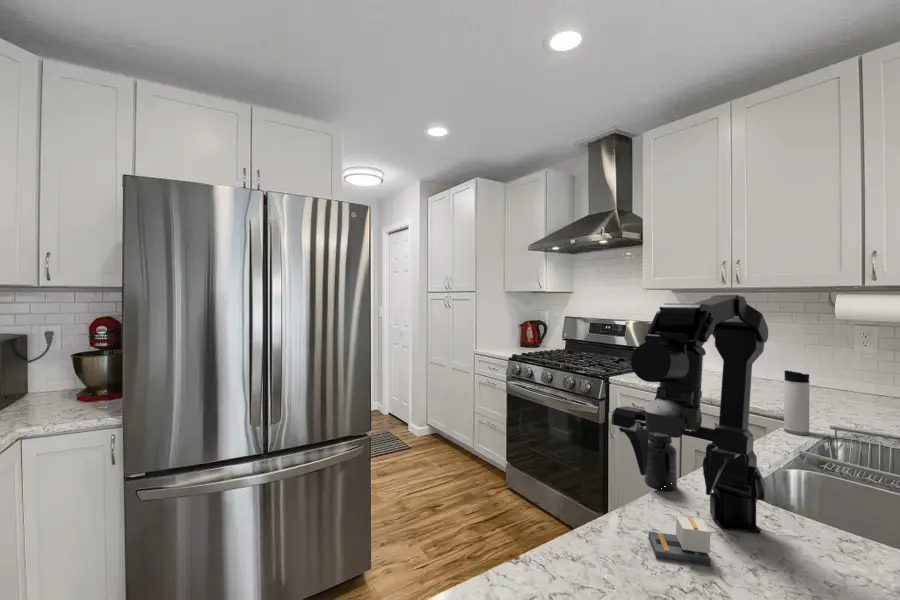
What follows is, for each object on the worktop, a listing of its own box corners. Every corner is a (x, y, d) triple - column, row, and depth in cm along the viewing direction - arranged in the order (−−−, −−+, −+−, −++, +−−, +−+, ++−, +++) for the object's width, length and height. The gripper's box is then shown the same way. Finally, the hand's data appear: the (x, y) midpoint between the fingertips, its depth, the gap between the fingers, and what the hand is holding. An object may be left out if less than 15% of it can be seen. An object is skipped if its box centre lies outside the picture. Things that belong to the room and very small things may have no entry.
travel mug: (778, 429, 138) (778, 369, 138) (796, 429, 138) (796, 368, 138) (795, 436, 131) (796, 372, 131) (814, 435, 132) (814, 372, 132)
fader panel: (698, 544, 73) (698, 537, 73) (710, 566, 67) (710, 557, 67) (648, 538, 75) (648, 530, 75) (655, 558, 69) (656, 550, 69)
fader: (701, 539, 72) (701, 517, 72) (709, 553, 68) (710, 530, 68) (676, 536, 73) (676, 514, 73) (682, 549, 69) (682, 526, 69)
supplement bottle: (666, 478, 100) (666, 428, 100) (683, 491, 93) (683, 438, 93) (638, 479, 100) (638, 428, 100) (653, 492, 93) (653, 438, 93)
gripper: (600, 374, 66) (592, 474, 65) (741, 395, 53) (735, 521, 52) (627, 373, 74) (621, 463, 73) (756, 392, 61) (751, 501, 60)
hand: (674, 484), depth 64 cm, fingers open, 9 cm apart
